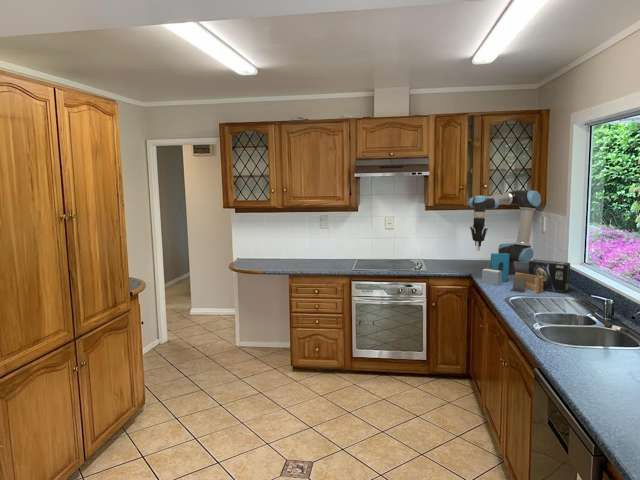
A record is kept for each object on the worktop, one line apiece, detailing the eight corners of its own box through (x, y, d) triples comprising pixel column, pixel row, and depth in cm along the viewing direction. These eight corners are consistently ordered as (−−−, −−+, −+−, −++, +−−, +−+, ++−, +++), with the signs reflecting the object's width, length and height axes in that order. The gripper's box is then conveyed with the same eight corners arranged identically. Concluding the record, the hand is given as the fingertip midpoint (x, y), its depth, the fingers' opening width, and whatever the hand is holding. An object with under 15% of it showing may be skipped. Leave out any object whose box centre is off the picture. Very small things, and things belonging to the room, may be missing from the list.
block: (491, 282, 328) (493, 254, 326) (489, 280, 333) (490, 253, 331) (508, 282, 328) (510, 254, 326) (505, 280, 333) (507, 253, 331)
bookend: (513, 289, 306) (514, 277, 305) (525, 291, 300) (525, 279, 299) (510, 290, 303) (510, 278, 302) (521, 292, 297) (522, 280, 296)
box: (527, 288, 310) (528, 260, 307) (532, 285, 317) (533, 258, 315) (565, 294, 295) (567, 264, 292) (569, 291, 302) (571, 262, 299)
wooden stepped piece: (515, 286, 315) (516, 272, 313) (543, 291, 301) (543, 276, 299) (507, 289, 308) (508, 274, 307) (535, 294, 294) (536, 278, 293)
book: (485, 282, 329) (486, 268, 327) (501, 285, 319) (502, 270, 318) (481, 283, 325) (482, 269, 324) (497, 286, 316) (498, 271, 315)
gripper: (468, 217, 328) (466, 250, 331) (485, 218, 318) (483, 252, 321) (473, 216, 332) (472, 249, 336) (490, 217, 323) (489, 251, 326)
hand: (477, 250), depth 328 cm, fingers closed
